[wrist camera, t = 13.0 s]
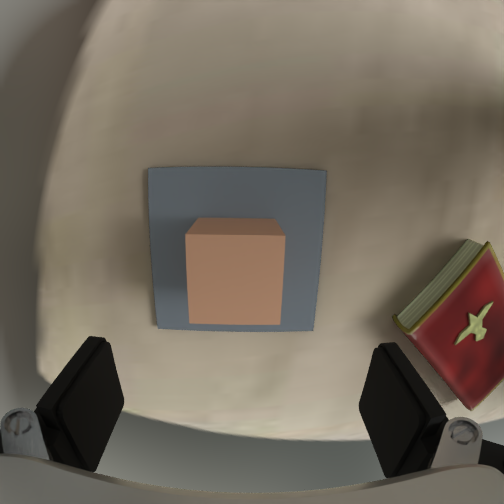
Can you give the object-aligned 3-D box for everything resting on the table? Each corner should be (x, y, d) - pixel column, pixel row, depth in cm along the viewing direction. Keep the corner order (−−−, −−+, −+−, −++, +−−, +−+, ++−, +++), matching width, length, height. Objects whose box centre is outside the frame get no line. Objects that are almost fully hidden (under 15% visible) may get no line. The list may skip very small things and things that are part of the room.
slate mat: (324, 170, 24) (326, 170, 24) (311, 327, 28) (313, 330, 27) (150, 167, 24) (148, 168, 23) (159, 325, 28) (157, 328, 27)
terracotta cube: (275, 218, 25) (285, 235, 19) (271, 290, 26) (280, 324, 20) (198, 217, 24) (185, 234, 19) (200, 289, 26) (189, 323, 20)
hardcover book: (457, 396, 33) (471, 414, 29) (389, 316, 29) (407, 337, 25) (513, 335, 31) (530, 349, 27) (466, 232, 27) (491, 242, 23)
